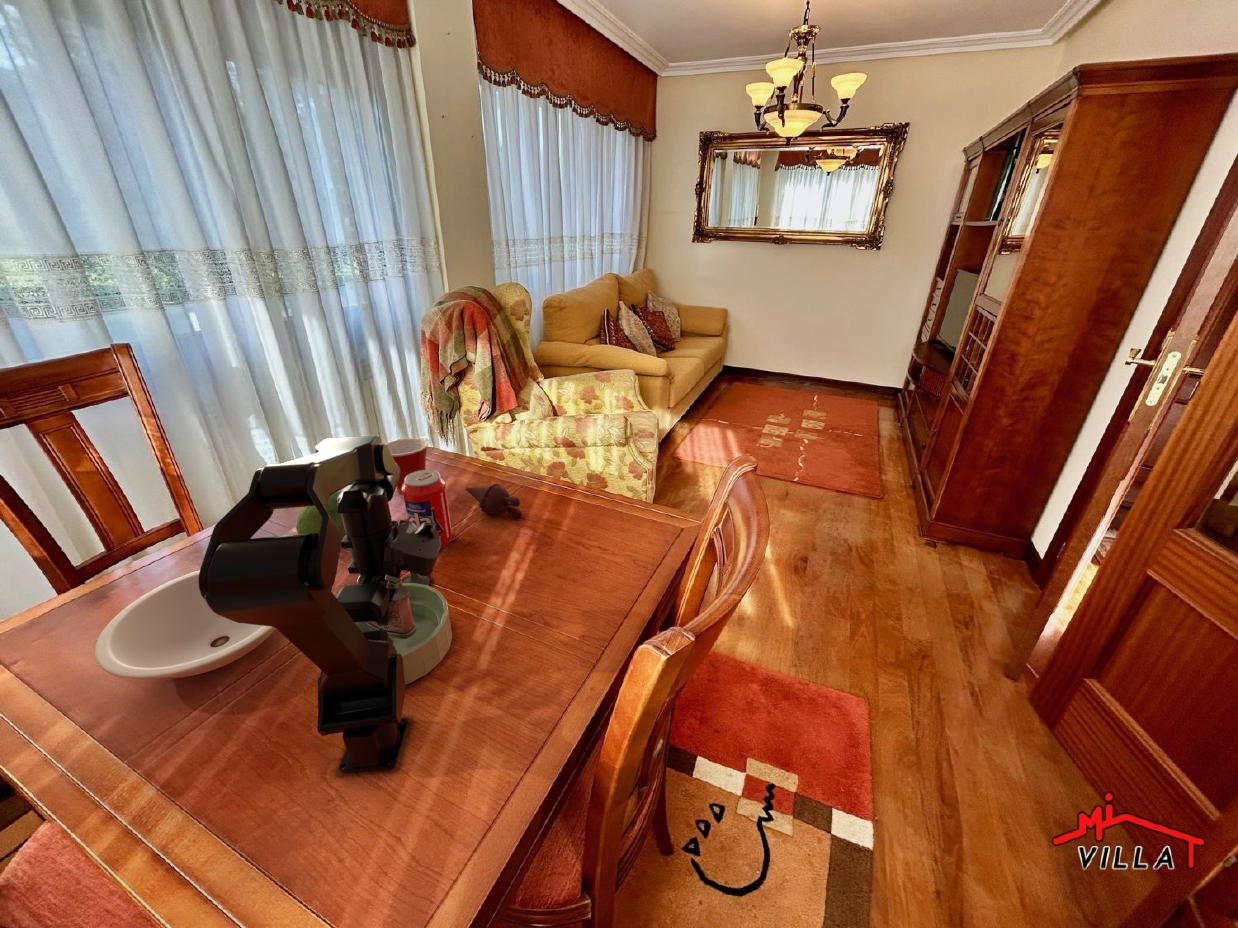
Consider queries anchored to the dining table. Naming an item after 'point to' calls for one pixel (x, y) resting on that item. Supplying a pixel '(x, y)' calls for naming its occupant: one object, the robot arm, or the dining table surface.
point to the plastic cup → (408, 456)
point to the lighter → (397, 613)
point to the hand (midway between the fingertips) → (389, 613)
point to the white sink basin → (173, 635)
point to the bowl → (423, 632)
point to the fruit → (319, 517)
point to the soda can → (427, 502)
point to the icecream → (496, 500)
